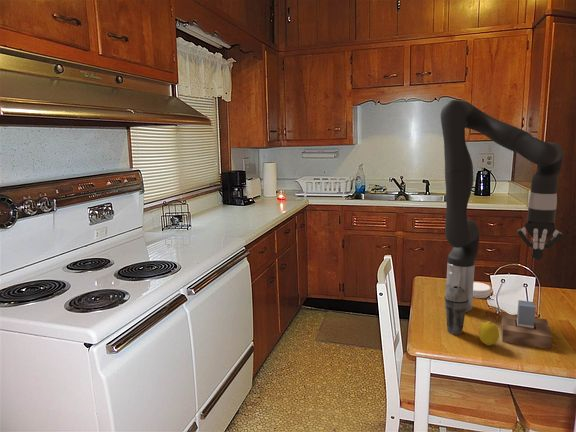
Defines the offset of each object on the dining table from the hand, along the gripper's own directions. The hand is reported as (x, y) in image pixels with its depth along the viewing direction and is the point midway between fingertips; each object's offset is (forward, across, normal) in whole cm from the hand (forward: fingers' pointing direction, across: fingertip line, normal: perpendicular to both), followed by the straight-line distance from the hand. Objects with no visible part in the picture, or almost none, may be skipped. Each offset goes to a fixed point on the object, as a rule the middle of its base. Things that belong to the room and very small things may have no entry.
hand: (536, 259), depth 136 cm
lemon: (+24, -12, -19) cm, 33 cm away
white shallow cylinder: (+24, -17, +25) cm, 39 cm away
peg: (+24, -2, -8) cm, 25 cm away
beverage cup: (+24, -22, -13) cm, 35 cm away
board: (+24, -2, -8) cm, 25 cm away
